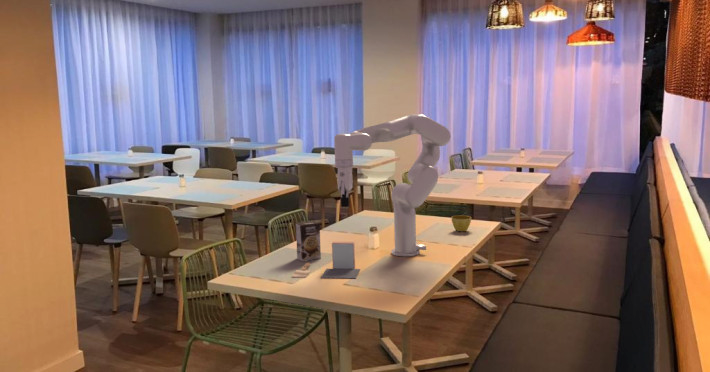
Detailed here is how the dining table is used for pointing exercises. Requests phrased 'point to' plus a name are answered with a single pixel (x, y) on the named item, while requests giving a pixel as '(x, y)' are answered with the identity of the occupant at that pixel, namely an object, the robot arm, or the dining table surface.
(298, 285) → the dining table surface
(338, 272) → the charcoal mat
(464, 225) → the flower pot
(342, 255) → the pale grey upright block
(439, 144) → the robot arm
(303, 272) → the beech turner
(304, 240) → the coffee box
